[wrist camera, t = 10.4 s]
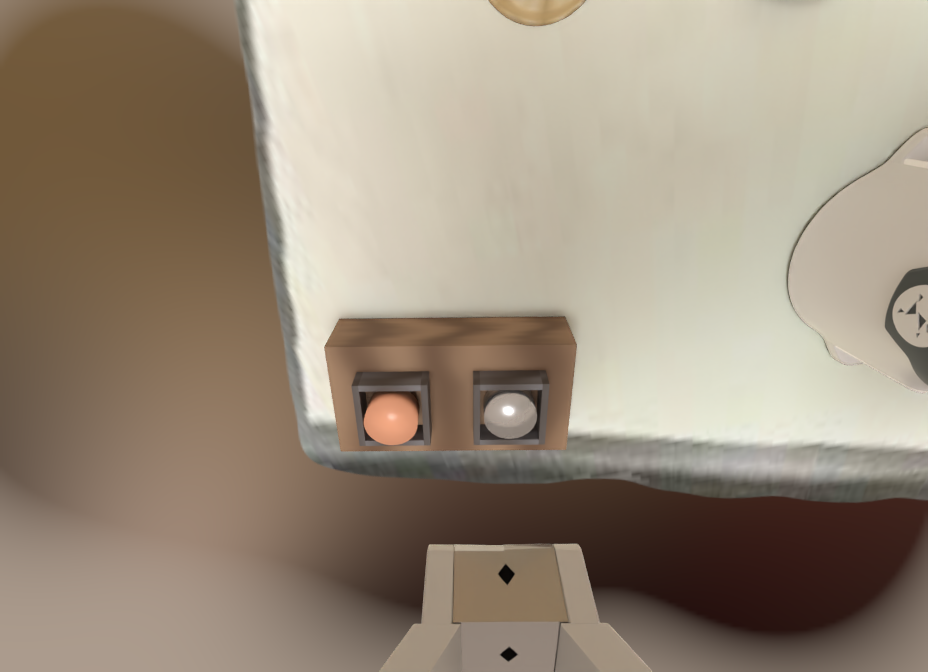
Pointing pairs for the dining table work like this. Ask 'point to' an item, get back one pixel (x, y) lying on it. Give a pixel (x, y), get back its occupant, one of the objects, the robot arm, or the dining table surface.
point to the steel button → (509, 412)
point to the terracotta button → (392, 417)
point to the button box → (452, 377)
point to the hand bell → (536, 10)
